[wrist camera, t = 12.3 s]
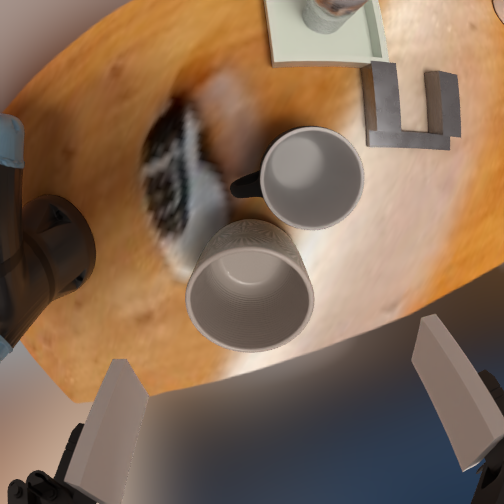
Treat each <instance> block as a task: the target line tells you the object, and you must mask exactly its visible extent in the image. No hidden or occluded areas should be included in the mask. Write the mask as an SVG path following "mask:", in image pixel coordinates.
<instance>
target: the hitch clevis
mask: <svg viewBox="0 0 504 504" xmlns="http://www.w3.org/2000/svg"><path fill="white" fill-rule="evenodd" d="M361 75H362V84H363V94H364V106H365V120H366V138H367V146H368V147H396V148H421V149H438V150H450V136H453V137H461V118H460V100H459V88H458V78H457V75H455V74H451V73H447V72H442V71H434V72H429V73H424V76H425V86H426V97H427V112H428V133H422V132H408V131H401V115H400V100H399V89H398V79H397V70H396V63H389V62H381V61H371V63H370V64H368V65H366V66H364V67H362V68H361Z"/></svg>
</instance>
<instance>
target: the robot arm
mask: <svg viewBox="0 0 504 504" xmlns="http://www.w3.org/2000/svg"><path fill="white" fill-rule="evenodd" d="M24 134H25V132H24V126H23V124H22V122H21V121H20V120H19V119H18V118H17V117H15V116H12V115H8V114H2V113H0V362H1V361H2V360H3V359H4V358H5V357H6V356H7V354H8V353H11V352H12V351H13V348H14V346H15V345H16V344H17V342H18V341H19V340H20V339H21V337H22V336H23V335H24V334H25V332H26V331H27V330H28V329H29V327H30V326H31V325H32V324H33V322H34V321H35V320H36V319H37V317H38V316H39V315H40V314H41V313H42V311H43V310H44V309H45V308H46V307H47V306H48V305H49V303H50V302H51V301H53V300H55V299H58V298H60V297H62V296H64V295H67V294H69V293H72V292H74V291H76V290H77V289H79V288H80V287H81V286H82V285H83V284H84V283H85V282H86V280H87V279H88V278H89V277H90V275H91V274H92V272H93V269H94V265H95V258H96V252H95V244H94V240H93V236H92V233H91V230H90V228H89V226H88V224H87V222H86V221H85V219H84V217H83V216H82V215H81V213H80V212H79V211H78V210H77V209H76V208H75V207H74V206H73V205H72V204H71V203H70V202H68V201H67V200H65V199H63V198H61V197H59V196H55V195H43V196H40V197H38V198H36V199H34V200H32V201H30V202H28V203H27V204H26V205H25V206H24V207H23V208H22V174H23V168H24V165H25V162H24V160H23V153H24ZM411 361H412V363H413V365H414V367H415V369H416V370H417V372H418V374H419V376H420V378H421V380H422V382H423V384H424V386H425V388H426V390H427V392H428V394H429V396H430V398H431V400H432V402H433V405H434V407H435V409H436V411H437V413H438V415H439V417H440V419H441V422H442V423H443V426H444V428H445V431H446V433H447V435H448V437H449V440H450V442H451V444H452V446H453V449H454V451H455V454H456V456H457V459H458V461H459V464H460V466H461V469H462V471H465V470H467V469H469V468H471V467H473V466H475V465H476V464H478V463H479V462H480V461H481V460H482V459H483V458H485V460H486V462H485V463H484V464H483V465H482V466H481V467H480V468H479V469H478V470H477V472H476V474H478V473H480V472H481V471H482V473H481V477H480V480H479V483H478V485H477V488H476V491H475V494H474V496H473V499H472V502H471V504H504V391H503V389H502V388H501V387H500V384H499V383H498V381H497V380H496V378H495V377H494V376H493V375H492V374H491V373H489V372H488V371H487V370H483V371H481V372H479V373H477V372H476V370H475V369H474V367H473V366H472V364H471V363H470V361H469V360H468V358H467V357H466V355H465V354H464V352H463V351H462V350H461V348H460V347H459V345H458V344H457V342H456V341H455V340H454V338H453V337H452V336H451V334H450V333H449V331H448V330H447V329H446V327H445V326H444V324H443V323H442V322H441V321H440V319H439V318H438V316H437V315H436V314H433V315H430V316H426V317H422V318H421V322H420V327H419V331H418V336H417V340H416V344H415V348H414V352H413V356H412V360H411ZM148 398H149V395H148V393H147V392H146V390H145V389H144V387H143V385H142V384H141V382H140V381H139V379H138V377H137V376H136V374H135V373H134V371H133V369H132V368H131V366H130V364H129V362H128V361H127V359H113V360H112V362H111V364H110V367H109V369H108V371H107V373H106V375H105V378H104V380H103V382H102V384H101V387H100V389H99V391H98V393H97V396H96V398H95V400H94V403H93V405H92V407H91V410H90V412H89V415H88V417H87V420H86V422H85V424H82V423H79V424H78V425H77V426H76V427H75V429H74V430H73V431H72V433H71V435H70V438H69V440H68V443H67V445H66V448H65V449H66V450H65V451H64V453H63V455H62V458H61V461H60V464H59V466H58V469H57V472H56V474H55V477H54V479H53V478H51V477H50V476H49V475H47V474H46V473H45V472H43V471H40V470H36V471H33V472H32V473H30V475H29V476H28V477H27V480H26V483H24V482H23V481H21V480H19V479H16V480H13V481H12V482H11V483H10V484H9V486H8V504H96V503H99V504H121V502H122V498H123V493H124V489H125V485H126V481H127V477H128V472H129V468H130V464H131V460H132V456H133V452H134V449H135V444H136V441H137V437H138V433H139V430H140V426H141V423H142V419H143V415H144V412H145V409H146V405H147V401H148Z"/></svg>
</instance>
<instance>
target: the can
mask: <svg viewBox="0 0 504 504" xmlns="http://www.w3.org/2000/svg"><path fill="white" fill-rule="evenodd" d="M493 6H494V9H495V12H496V14H497V15H498V17H499V18H500V20H501V21H502V22H503V23H504V0H493Z"/></svg>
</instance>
